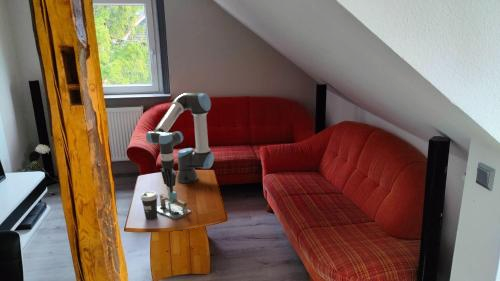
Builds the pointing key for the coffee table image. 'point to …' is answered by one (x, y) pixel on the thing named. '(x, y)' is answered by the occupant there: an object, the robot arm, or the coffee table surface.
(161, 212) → the bolt plate
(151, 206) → the coffee cup
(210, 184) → the coffee table surface
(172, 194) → the slider block
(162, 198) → the wooden rail
